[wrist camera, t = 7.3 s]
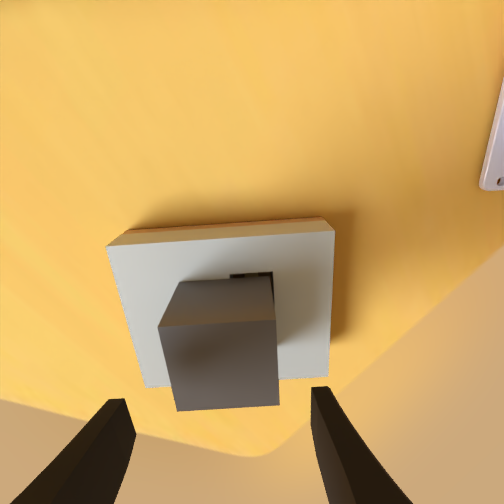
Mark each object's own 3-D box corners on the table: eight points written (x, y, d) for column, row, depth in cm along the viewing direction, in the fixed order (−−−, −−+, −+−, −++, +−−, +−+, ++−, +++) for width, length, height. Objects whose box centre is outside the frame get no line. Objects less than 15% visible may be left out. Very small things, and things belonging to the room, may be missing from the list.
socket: (321, 216, 17) (335, 230, 14) (318, 346, 21) (328, 376, 18) (127, 230, 17) (105, 246, 15) (158, 357, 21) (145, 388, 18)
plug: (267, 263, 17) (276, 319, 12) (270, 331, 19) (279, 405, 14) (184, 269, 17) (157, 327, 12) (196, 336, 19) (177, 411, 14)
